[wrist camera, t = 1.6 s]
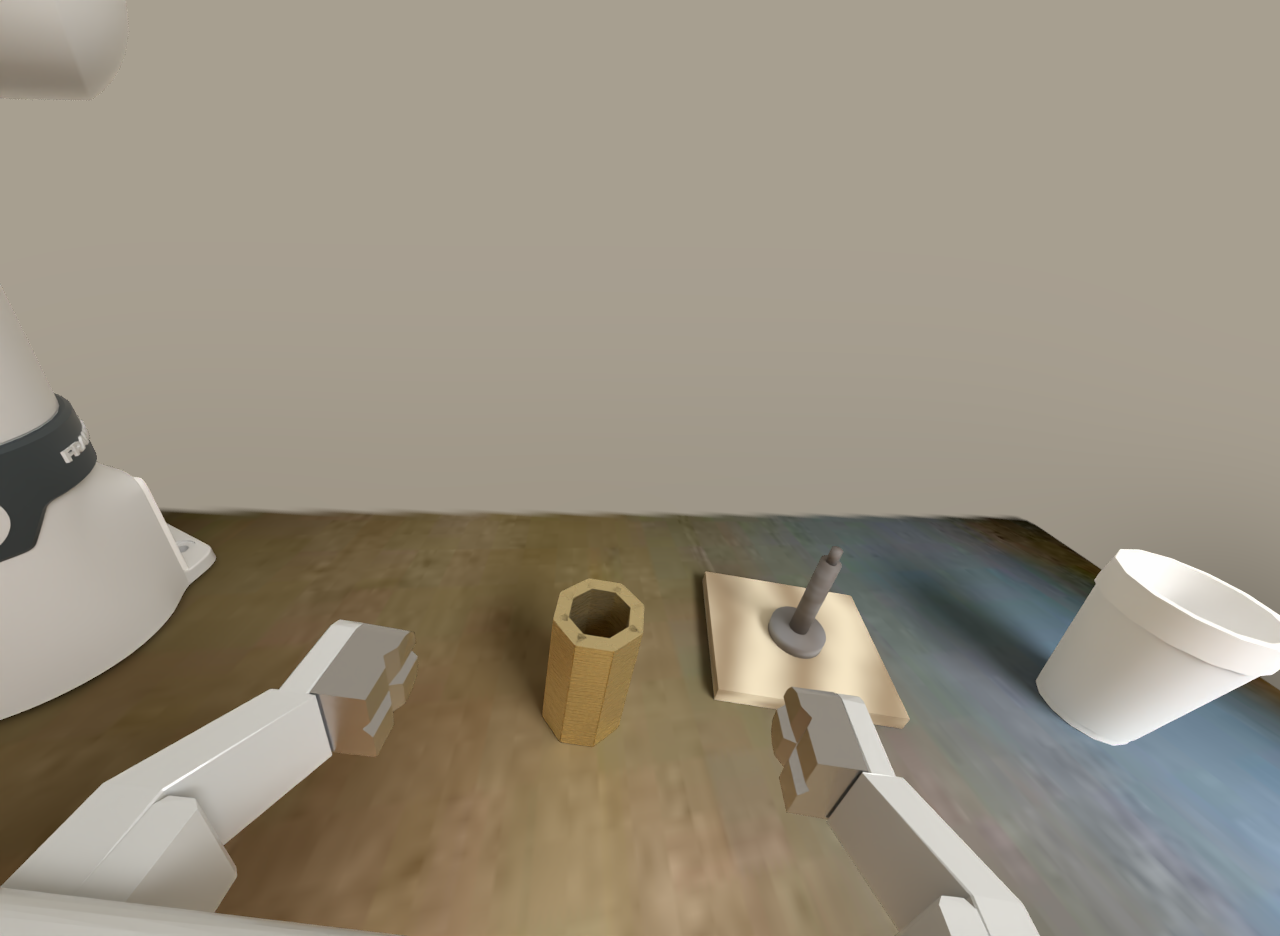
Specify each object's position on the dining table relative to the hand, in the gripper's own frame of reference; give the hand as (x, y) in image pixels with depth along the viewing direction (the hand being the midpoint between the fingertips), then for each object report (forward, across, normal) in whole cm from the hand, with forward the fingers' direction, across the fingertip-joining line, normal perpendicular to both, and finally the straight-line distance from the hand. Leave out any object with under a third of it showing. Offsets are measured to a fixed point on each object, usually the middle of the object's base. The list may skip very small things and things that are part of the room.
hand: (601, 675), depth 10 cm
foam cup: (+19, -41, +21) cm, 49 cm away
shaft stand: (+20, -16, +20) cm, 33 cm away
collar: (+12, 0, +20) cm, 24 cm away
